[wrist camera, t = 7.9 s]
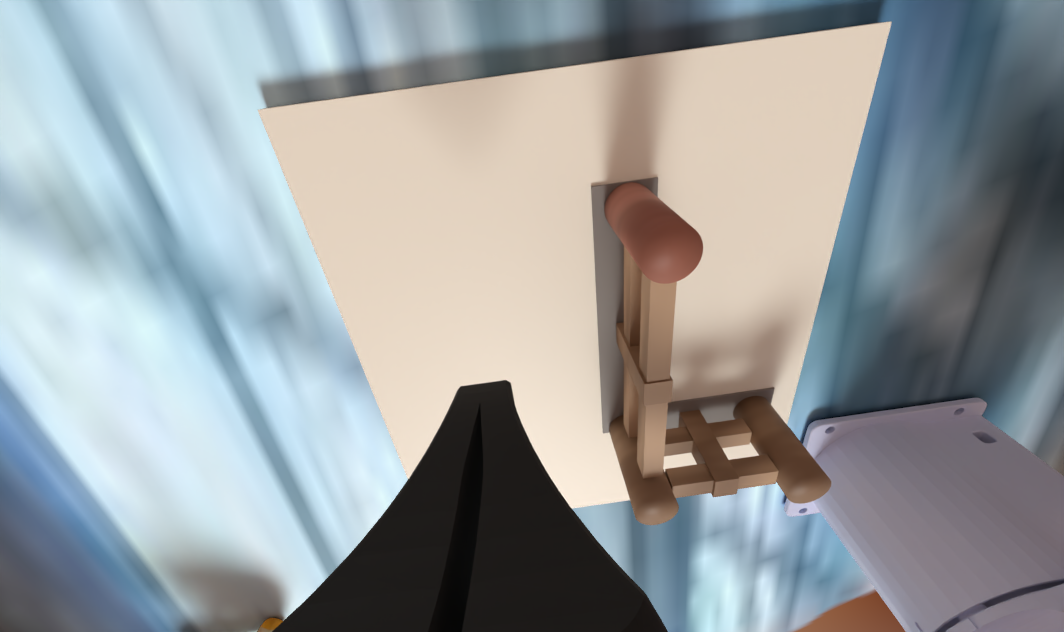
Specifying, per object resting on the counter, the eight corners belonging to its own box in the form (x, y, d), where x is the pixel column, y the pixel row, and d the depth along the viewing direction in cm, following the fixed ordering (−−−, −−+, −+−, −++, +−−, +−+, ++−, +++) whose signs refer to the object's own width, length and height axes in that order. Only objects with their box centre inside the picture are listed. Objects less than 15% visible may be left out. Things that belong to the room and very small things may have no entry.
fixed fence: (770, 392, 21) (836, 472, 17) (764, 418, 22) (825, 500, 18) (607, 415, 21) (635, 500, 17) (608, 440, 22) (635, 527, 18)
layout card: (877, 23, 14) (894, 21, 14) (767, 471, 26) (773, 481, 25) (266, 108, 14) (256, 110, 13) (429, 519, 25) (428, 530, 25)
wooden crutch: (645, 407, 21) (678, 483, 17) (608, 412, 21) (634, 489, 17) (654, 179, 15) (706, 219, 12) (603, 185, 15) (639, 227, 12)
